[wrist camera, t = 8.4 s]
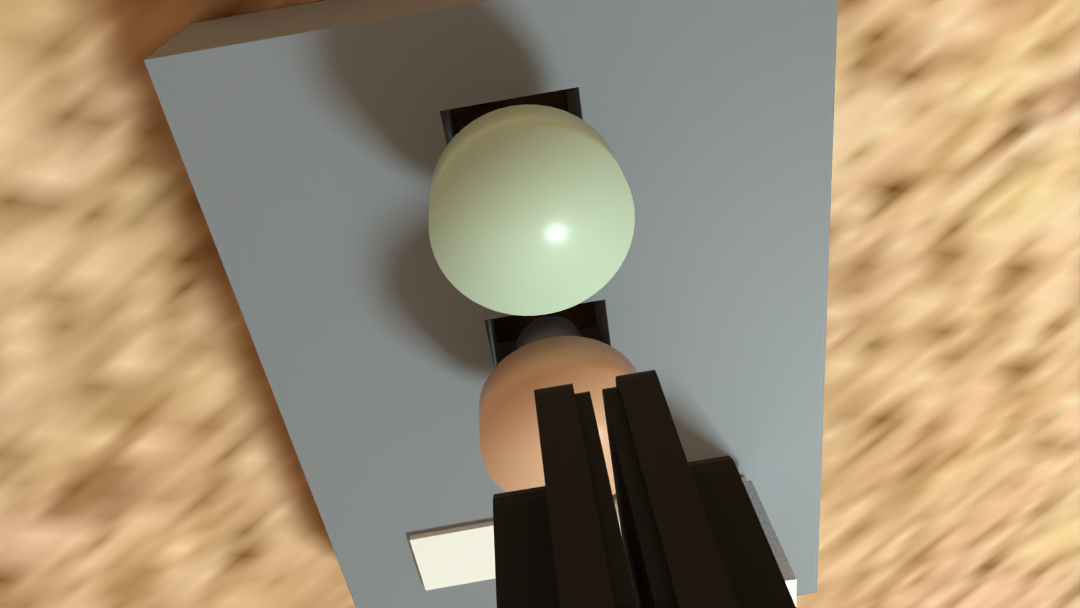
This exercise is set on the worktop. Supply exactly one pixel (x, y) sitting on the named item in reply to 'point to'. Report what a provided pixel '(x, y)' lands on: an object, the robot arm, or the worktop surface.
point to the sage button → (529, 211)
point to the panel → (468, 328)
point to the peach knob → (509, 403)
